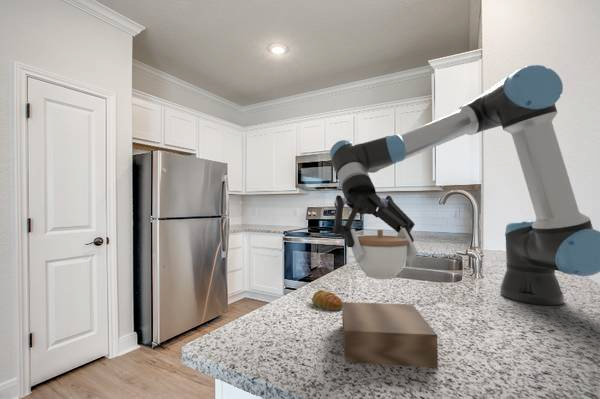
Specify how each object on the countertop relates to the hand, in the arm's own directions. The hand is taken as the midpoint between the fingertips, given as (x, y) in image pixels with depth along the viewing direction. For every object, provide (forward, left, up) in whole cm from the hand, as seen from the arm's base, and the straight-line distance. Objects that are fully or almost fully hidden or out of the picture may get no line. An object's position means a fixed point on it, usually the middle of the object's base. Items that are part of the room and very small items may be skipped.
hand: (387, 258), depth 58 cm
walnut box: (0, -3, -18) cm, 19 cm away
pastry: (+9, -27, -18) cm, 34 cm away
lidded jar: (0, -3, -4) cm, 5 cm away
